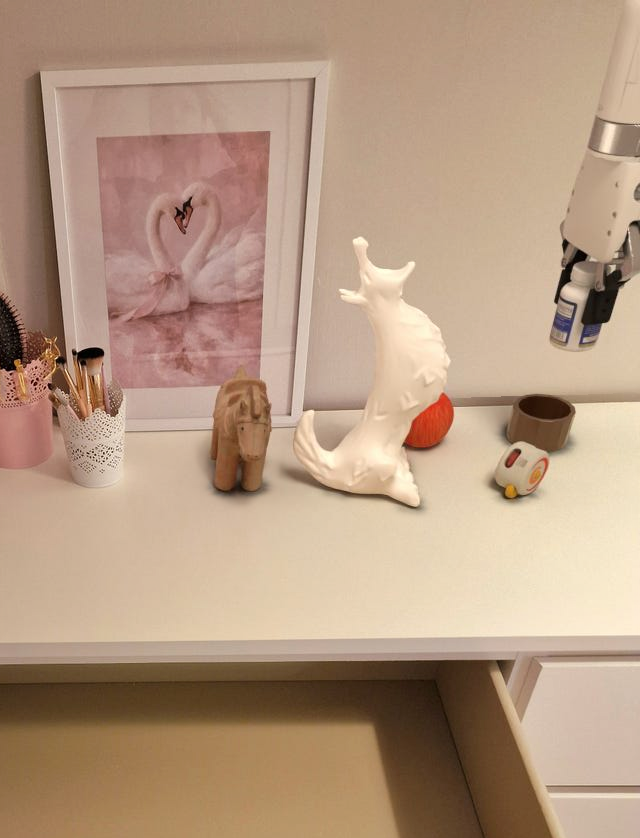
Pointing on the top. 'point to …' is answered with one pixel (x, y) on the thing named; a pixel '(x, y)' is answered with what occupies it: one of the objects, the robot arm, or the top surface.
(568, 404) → the holder
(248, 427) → the figurine
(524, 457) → the roller toy
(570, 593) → the top surface
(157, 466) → the top surface
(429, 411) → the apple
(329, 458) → the sculpture
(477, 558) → the top surface
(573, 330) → the pill bottle
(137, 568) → the top surface
